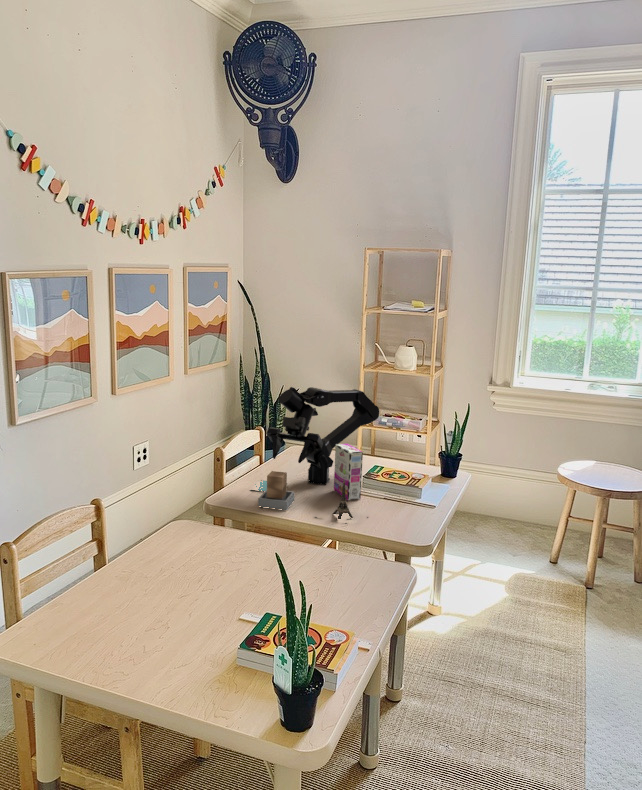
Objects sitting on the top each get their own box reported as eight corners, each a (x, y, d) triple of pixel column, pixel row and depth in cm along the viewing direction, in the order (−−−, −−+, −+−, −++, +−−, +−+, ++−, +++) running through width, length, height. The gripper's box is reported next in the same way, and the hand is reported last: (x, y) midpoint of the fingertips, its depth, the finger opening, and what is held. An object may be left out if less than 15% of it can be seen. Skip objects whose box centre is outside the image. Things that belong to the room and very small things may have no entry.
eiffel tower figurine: (312, 519, 200) (313, 477, 197) (326, 508, 209) (327, 468, 206) (358, 529, 194) (360, 486, 191) (370, 517, 203) (372, 476, 200)
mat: (287, 484, 228) (287, 482, 228) (278, 493, 219) (278, 492, 219) (259, 481, 231) (259, 480, 230) (250, 490, 221) (250, 489, 221)
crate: (294, 500, 213) (294, 491, 213) (286, 510, 204) (286, 501, 204) (267, 497, 215) (267, 488, 215) (258, 507, 206) (258, 498, 206)
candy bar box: (361, 499, 216) (363, 451, 212) (348, 501, 214) (349, 453, 210) (346, 488, 226) (347, 442, 222) (333, 490, 224) (334, 443, 220)
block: (286, 502, 212) (286, 472, 210) (281, 507, 207) (282, 477, 205) (271, 500, 213) (271, 471, 211) (266, 505, 208) (267, 475, 206)
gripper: (269, 403, 218) (252, 443, 211) (320, 410, 211) (305, 452, 204) (279, 421, 227) (264, 460, 219) (329, 428, 220) (314, 469, 212)
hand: (286, 460), depth 213 cm, fingers open, 9 cm apart
